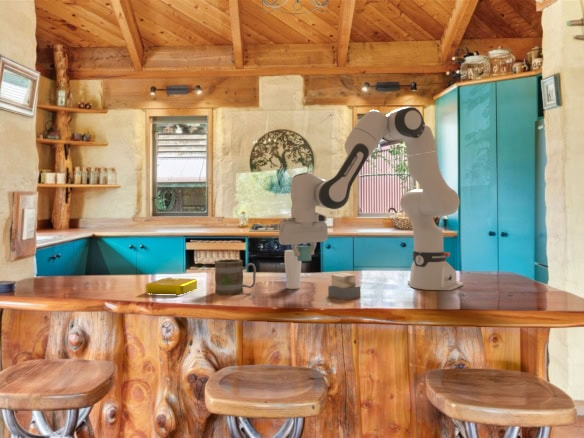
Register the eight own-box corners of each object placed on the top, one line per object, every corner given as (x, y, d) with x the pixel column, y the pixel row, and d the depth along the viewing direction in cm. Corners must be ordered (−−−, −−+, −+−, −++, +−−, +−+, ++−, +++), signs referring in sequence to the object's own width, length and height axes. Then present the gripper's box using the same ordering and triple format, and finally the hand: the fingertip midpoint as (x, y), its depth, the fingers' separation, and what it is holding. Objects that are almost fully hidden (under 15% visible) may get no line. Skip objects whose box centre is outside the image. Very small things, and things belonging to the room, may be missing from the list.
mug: (211, 295, 149) (211, 263, 148) (217, 289, 159) (217, 259, 159) (254, 295, 148) (254, 262, 148) (258, 289, 159) (257, 259, 159)
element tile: (143, 296, 151) (143, 283, 151) (164, 288, 166) (164, 276, 165) (180, 297, 148) (180, 284, 148) (198, 289, 162) (198, 277, 162)
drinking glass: (304, 289, 159) (303, 251, 159) (287, 290, 157) (287, 251, 157) (298, 286, 165) (298, 249, 165) (282, 287, 163) (282, 250, 163)
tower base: (344, 293, 151) (344, 283, 151) (360, 297, 145) (360, 286, 145) (328, 296, 146) (328, 285, 146) (343, 300, 140) (343, 289, 140)
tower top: (344, 283, 150) (344, 272, 150) (355, 286, 145) (355, 275, 145) (331, 285, 146) (331, 274, 146) (342, 288, 141) (342, 276, 141)
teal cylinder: (305, 258, 151) (305, 245, 151) (314, 260, 147) (313, 246, 147) (294, 260, 148) (294, 246, 148) (303, 261, 144) (302, 247, 144)
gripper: (285, 218, 139) (286, 259, 139) (329, 216, 151) (330, 253, 151) (274, 218, 144) (275, 257, 144) (318, 216, 156) (319, 252, 156)
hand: (304, 255), depth 148 cm, fingers closed on teal cylinder, 5 cm apart
